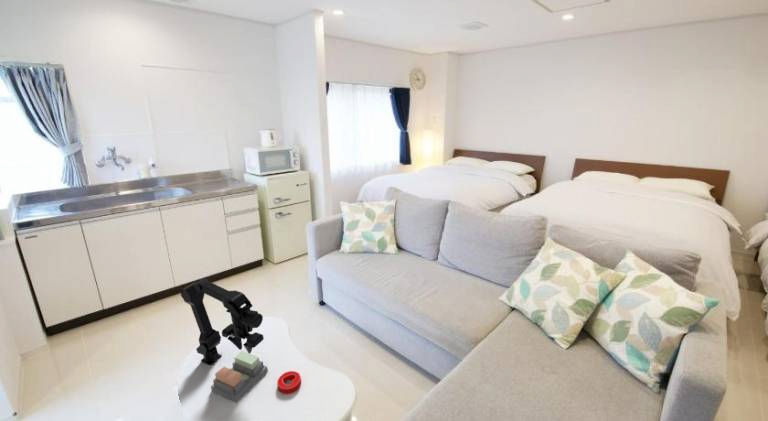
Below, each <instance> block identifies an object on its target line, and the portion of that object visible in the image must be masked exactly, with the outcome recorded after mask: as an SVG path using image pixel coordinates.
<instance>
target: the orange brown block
mask: <svg viewBox="0 0 768 421" xmlns="http://www.w3.org/2000/svg"><path fill="white" fill-rule="evenodd" d="M214 375H215V378H216V380H217V381H219V382H221V383H223V384H226V385H228V386H230V387H232V388H235V387H236V386H237V385H238V384H239V383H240V382H241V381H242V375H241V373H238V372H236V371H233V370H231V368H228V367H226V366H223V367H221V368H220V369H219V370H218V371H217V372H215V373H214Z"/></svg>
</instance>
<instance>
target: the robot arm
mask: <svg viewBox="0 0 768 421" xmlns="http://www.w3.org/2000/svg"><path fill="white" fill-rule="evenodd" d="M205 295H207V296H209V297H212V298H213V299H215V300H218V301H219V302H221V303H222V305H223V307H224V308H225V309H226V310H225V312H226V313H229V314H230V316H231V317H230V318H231V322H232V323H230V324H229V325H227V326H225V327H224V328H223V329H222V331H221V334H220V331H219V330H216V329H214V328H213V326H212V324H211V323H212V322H211V320H210V318H209V315H208V312H207V309H206V306H205V304H204V299H205V298H204V297H205ZM180 297H181V298H182V299H183V302H184V303H186V304H188V305H189V306H190V309H191V311H192V314H193V316H194V319H195V321H196V324H197V327H198V330H199V332H200V334H199V338H198V343H199V345H198V346H197V347H196V349H195V350H196V352H197V354H200V355H202V356H203V357H202V359H200V362H202V363H204V364H206V365H209V366H212V365H213V364H214V363H215V362H216V361H218V360H219V359H220V358H222V354H220V353H219V351H218V348H217V346H218V345H219V344H221V341H222V337H223V338H226V339H227V340H228V341H230V342H231V343H232V344H233V345H234V346H235V347H236V348H237V349H238V350H239V351H242V349H243V346H244V348H245V350H246V353H249V354H251V353H252V350H253V348H256V347H257V346H258V345H259V344H261V343H262V341H264V339H265V338H264V334H261V333H260V332H253V333H251V332H252V331H253V329H257V328H259V327H260V326H261V325H262V323H263V319H264V317H263V315H262V314H261V313H259V311H257V310H252V309H251V308H252V307H253V304H252V302H251V300H250V299H249V298H248V297H247V296H246V294H245V293H244V292H242V291H238V290H228V289H226V288H223V287H221V286H220V285H218V284H215V283H213V282H211V281H210V280H209V279H208V278H202V279H201V280H199V281H195V282H193V283H191V284H189V285H188V286H186V287H184V288H182V289H181V291H180ZM242 340H246V342H245V343H242V342H243V341H242Z"/></svg>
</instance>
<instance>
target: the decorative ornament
mask: <svg viewBox="0 0 768 421" xmlns="http://www.w3.org/2000/svg"><path fill="white" fill-rule="evenodd" d="M290 381H291V384H288V385H287V384H286V383H287V382H290ZM276 385H277V389H278V391H279V393H280V394H283V395H291V394H293V393H294V394H295V392H297V391H298V390H299V389H300V388H301V385H302V377H301V375H300V373H299V372H297V371H295V370H290V371H286V372H284V373H283V374H280V376H279V377H278V379H277V384H276Z"/></svg>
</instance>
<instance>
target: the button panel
mask: <svg viewBox="0 0 768 421" xmlns="http://www.w3.org/2000/svg"><path fill="white" fill-rule="evenodd" d="M230 369H231V370H233V371H236V372H238V373H241V375H242V381H241V382H240V383H239V384H238V385H237V386H236V387H235V388H232V387H230V386H228V385H226V384H223V383H221V382H219V381H217V380H216V377H215V378H214V379H213V381H212V382H213V384H212V385H211V386H210V389H211V392H212V393H215V394H216V395H219V396H220V397H222V398H225V399H227V400H229V401H231V402H234V403H235V404H237V403H238V402H239V401H240V400H241V399H242V398H243V397H244V396H245V395H246V394H247V393H248V392H249V391H250V390H251V389H252V388H253V387H254V386H255V385H256V384H257V383H258V382H259V380H261V379H262V377H263V376H265V375H266V373H267V372H269V370H268V366H267V365H264V361H261V360H260V364H259V365H258V366H257V367H256V368H255V369H254V370H253V371H252V370H250V369H247V368H245V367H243V366H240V365H238V364H236V363H235V361H233V363H232V367H231V368H230Z"/></svg>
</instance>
